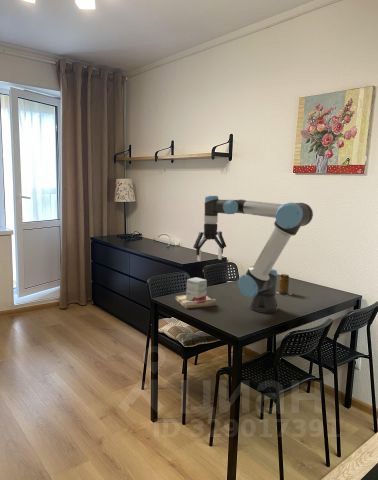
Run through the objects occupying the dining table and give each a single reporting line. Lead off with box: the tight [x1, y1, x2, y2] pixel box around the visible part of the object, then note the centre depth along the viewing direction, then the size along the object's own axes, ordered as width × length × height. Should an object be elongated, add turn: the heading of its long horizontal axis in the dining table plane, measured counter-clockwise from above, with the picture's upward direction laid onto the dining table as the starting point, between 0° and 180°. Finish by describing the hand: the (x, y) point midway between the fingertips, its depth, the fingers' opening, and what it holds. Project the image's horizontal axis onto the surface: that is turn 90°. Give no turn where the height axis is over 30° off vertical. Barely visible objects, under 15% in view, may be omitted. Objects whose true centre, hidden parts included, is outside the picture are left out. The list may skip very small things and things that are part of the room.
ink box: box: [185, 277, 208, 301], centre depth 210 cm, size 9×9×12 cm
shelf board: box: [174, 294, 217, 309], centre depth 211 cm, size 16×18×3 cm
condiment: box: [275, 273, 293, 297], centre depth 236 cm, size 7×8×12 cm
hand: (209, 260), depth 212 cm, fingers open, 13 cm apart
